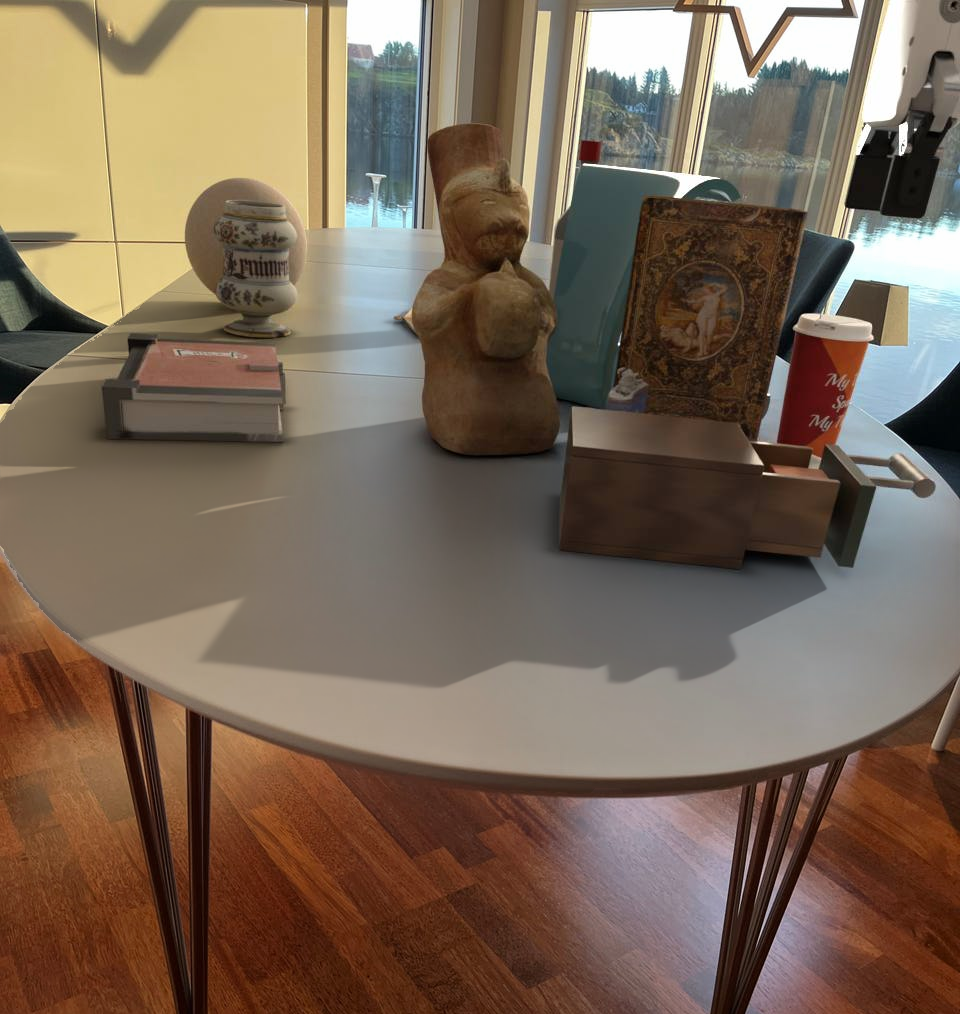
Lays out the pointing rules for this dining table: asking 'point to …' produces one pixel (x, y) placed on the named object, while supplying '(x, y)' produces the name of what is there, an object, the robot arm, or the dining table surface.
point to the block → (797, 471)
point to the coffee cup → (821, 379)
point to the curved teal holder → (605, 272)
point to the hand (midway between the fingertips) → (881, 213)
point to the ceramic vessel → (484, 307)
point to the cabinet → (658, 488)
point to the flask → (628, 393)
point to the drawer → (822, 500)
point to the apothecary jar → (255, 266)
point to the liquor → (587, 155)
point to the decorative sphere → (211, 206)
